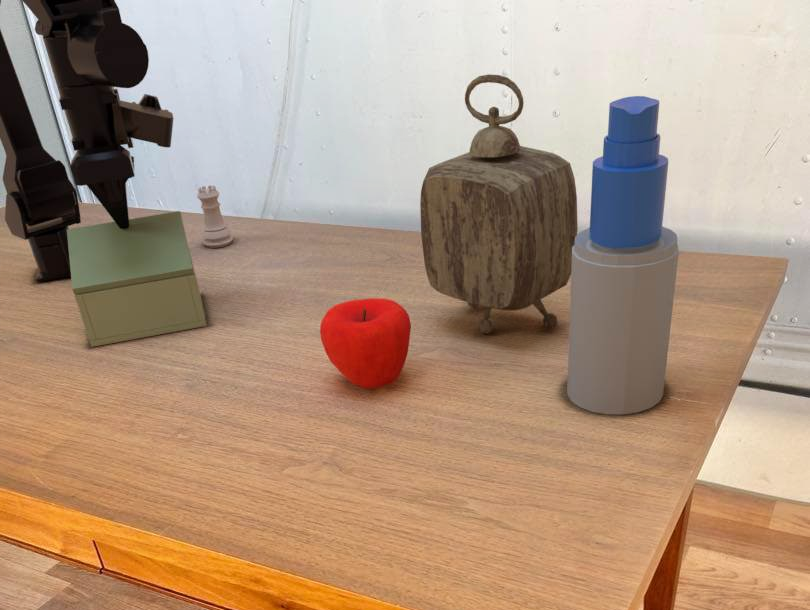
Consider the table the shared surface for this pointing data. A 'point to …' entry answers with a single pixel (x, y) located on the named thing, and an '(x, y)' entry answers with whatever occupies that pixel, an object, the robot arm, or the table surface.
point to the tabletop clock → (499, 219)
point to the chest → (141, 309)
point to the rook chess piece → (213, 219)
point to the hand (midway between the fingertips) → (124, 227)
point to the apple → (367, 340)
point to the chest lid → (128, 252)
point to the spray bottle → (623, 271)
